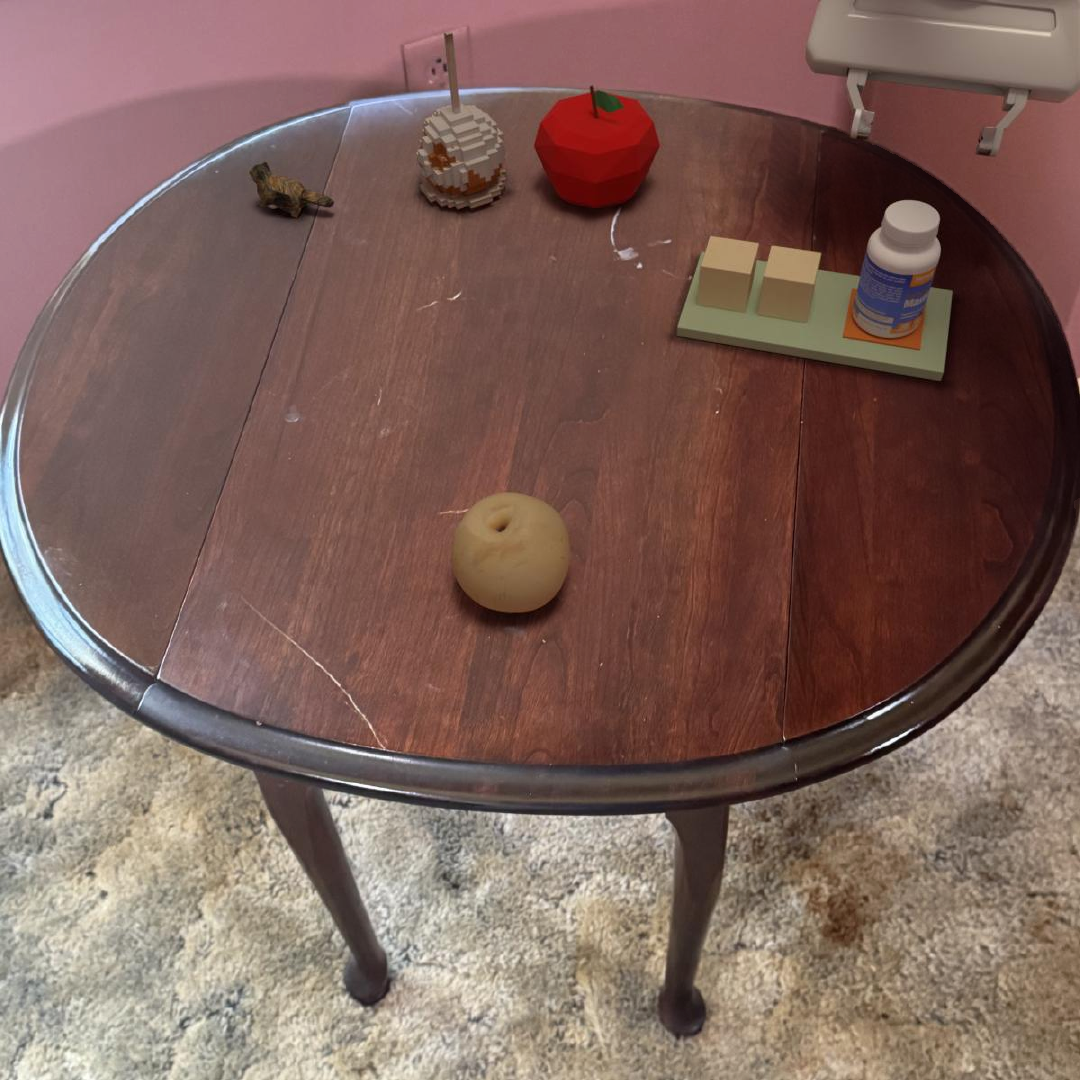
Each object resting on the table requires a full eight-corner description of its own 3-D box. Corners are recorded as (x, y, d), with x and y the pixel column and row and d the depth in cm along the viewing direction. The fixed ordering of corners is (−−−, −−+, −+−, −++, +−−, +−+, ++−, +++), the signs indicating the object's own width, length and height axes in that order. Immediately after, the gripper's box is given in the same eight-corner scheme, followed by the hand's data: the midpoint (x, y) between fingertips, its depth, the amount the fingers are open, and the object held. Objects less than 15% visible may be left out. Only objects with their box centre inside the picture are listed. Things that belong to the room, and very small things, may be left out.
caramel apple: (409, 179, 105) (386, 25, 93) (482, 155, 107) (469, 0, 95) (444, 223, 101) (425, 66, 89) (520, 196, 103) (511, 40, 91)
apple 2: (515, 187, 104) (510, 88, 96) (597, 141, 108) (598, 42, 100) (594, 238, 99) (595, 137, 91) (677, 187, 103) (684, 87, 95)
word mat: (949, 299, 92) (966, 250, 88) (940, 381, 87) (957, 333, 83) (700, 260, 97) (705, 211, 93) (676, 336, 91) (680, 287, 87)
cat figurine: (257, 191, 104) (255, 154, 101) (338, 217, 104) (338, 182, 101) (245, 208, 103) (242, 172, 99) (326, 235, 102) (327, 200, 99)
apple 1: (589, 618, 74) (533, 587, 67) (486, 629, 77) (424, 600, 71) (591, 508, 76) (538, 468, 70) (492, 523, 80) (432, 487, 74)
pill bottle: (904, 349, 87) (935, 247, 80) (840, 325, 89) (864, 224, 81) (930, 309, 90) (962, 207, 82) (866, 287, 92) (892, 185, 84)
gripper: (825, -77, 82) (785, 117, 84) (1120, -48, 78) (1070, 155, 80) (823, -43, 88) (785, 137, 90) (1096, -15, 84) (1051, 173, 86)
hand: (922, 145), depth 85 cm, fingers open, 8 cm apart
